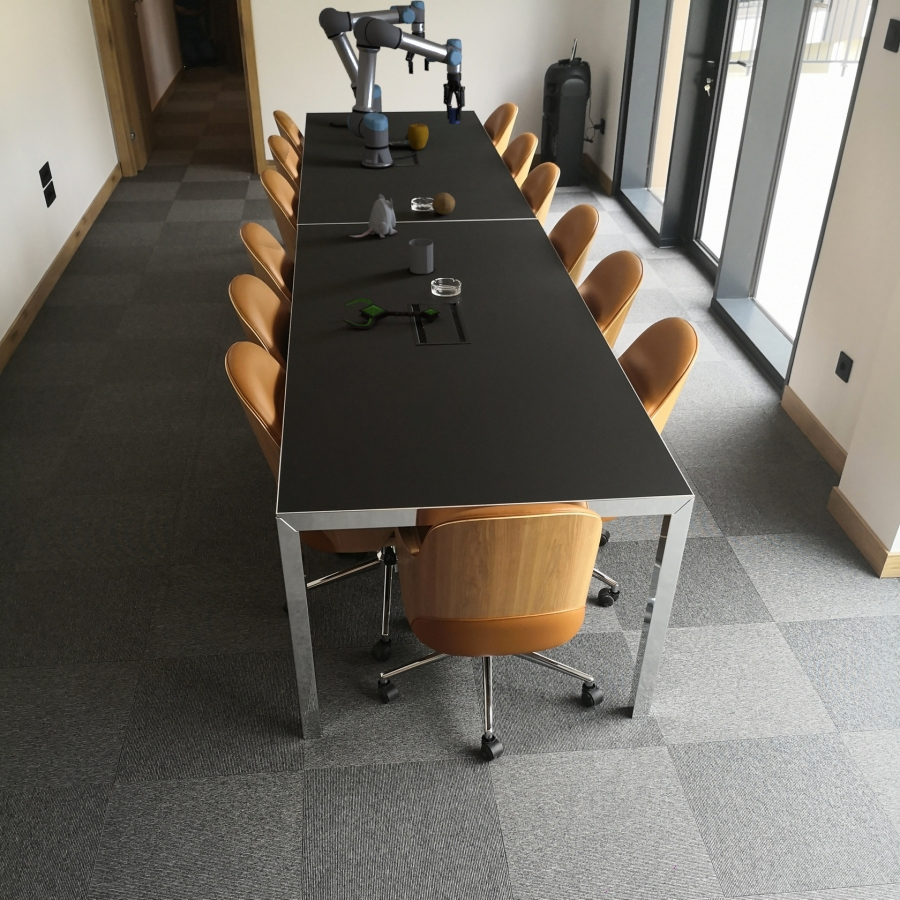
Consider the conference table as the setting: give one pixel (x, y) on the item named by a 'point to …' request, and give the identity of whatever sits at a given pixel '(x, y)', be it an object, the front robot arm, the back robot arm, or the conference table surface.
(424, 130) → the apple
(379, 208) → the toy
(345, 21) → the back robot arm
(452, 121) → the canister
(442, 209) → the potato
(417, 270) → the cup
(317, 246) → the conference table surface
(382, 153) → the front robot arm
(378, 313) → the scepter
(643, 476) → the conference table surface
